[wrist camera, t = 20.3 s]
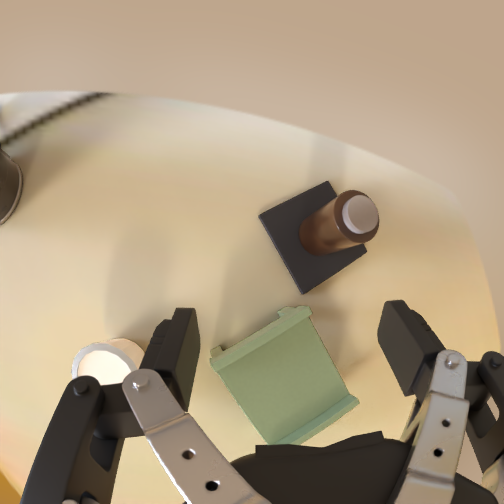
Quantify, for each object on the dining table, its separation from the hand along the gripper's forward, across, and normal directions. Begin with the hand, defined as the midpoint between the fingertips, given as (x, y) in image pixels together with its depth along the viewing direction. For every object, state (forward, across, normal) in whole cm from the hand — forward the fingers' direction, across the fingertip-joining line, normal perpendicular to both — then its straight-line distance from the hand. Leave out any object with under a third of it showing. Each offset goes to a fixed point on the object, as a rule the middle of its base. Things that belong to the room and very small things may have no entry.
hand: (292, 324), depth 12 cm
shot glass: (+11, +16, +14) cm, 24 cm away
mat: (+22, -6, +4) cm, 23 cm away
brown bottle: (+21, -6, +4) cm, 22 cm away
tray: (+13, 0, +17) cm, 21 cm away
